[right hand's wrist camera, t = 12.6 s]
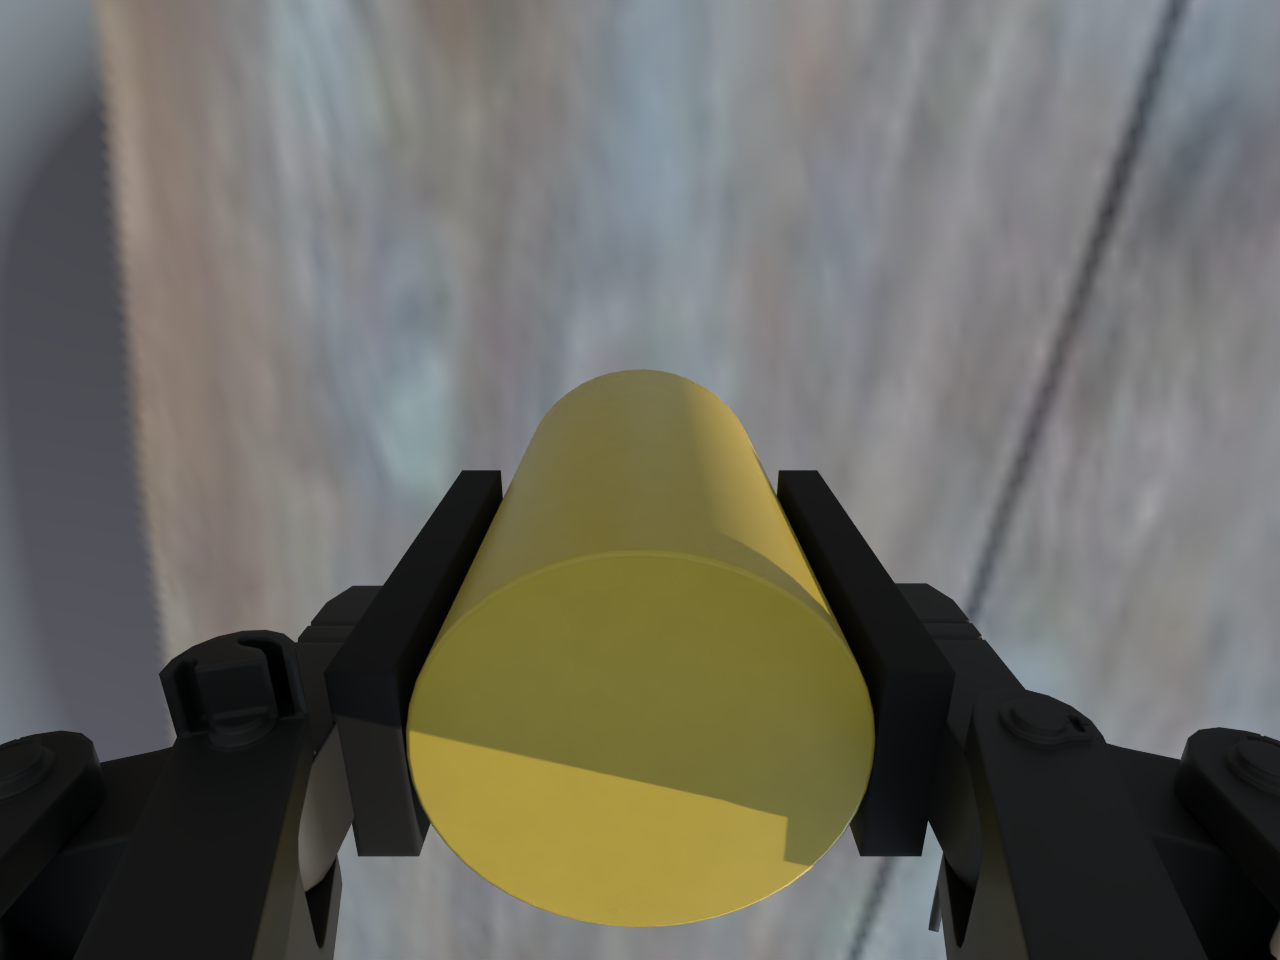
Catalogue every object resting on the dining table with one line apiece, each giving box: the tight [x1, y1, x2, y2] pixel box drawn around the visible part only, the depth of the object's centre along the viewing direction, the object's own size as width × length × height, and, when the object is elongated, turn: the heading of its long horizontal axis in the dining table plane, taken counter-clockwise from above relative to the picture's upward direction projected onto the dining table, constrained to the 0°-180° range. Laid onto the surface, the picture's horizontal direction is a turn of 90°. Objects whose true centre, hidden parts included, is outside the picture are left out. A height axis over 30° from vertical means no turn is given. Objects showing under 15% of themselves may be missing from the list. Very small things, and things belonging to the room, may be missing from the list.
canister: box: [406, 370, 876, 927], centre depth 12 cm, size 6×6×9 cm
